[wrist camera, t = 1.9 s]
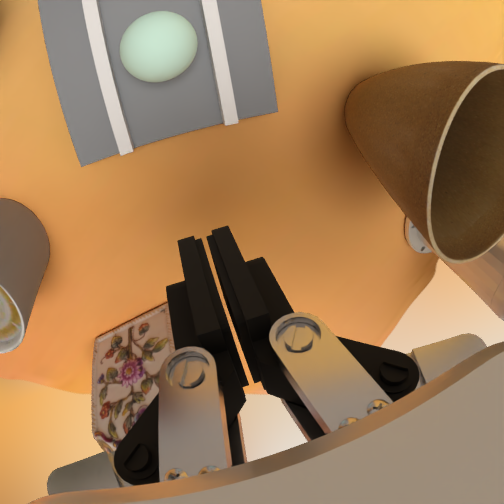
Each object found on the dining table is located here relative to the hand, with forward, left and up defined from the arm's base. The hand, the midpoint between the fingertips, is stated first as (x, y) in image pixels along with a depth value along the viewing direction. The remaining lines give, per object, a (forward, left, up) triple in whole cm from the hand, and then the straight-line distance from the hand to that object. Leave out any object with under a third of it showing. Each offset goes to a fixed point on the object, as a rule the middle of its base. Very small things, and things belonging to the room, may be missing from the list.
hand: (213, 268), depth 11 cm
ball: (0, -8, -13) cm, 15 cm away
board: (0, -15, -18) cm, 23 cm away
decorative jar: (+10, +24, -18) cm, 31 cm away
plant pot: (-19, +1, -18) cm, 27 cm away
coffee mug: (+21, +5, -18) cm, 28 cm away
